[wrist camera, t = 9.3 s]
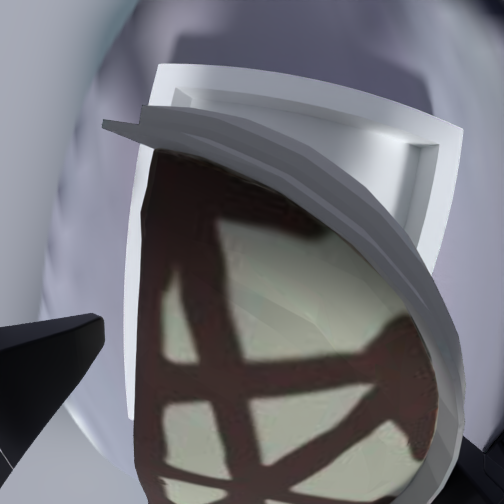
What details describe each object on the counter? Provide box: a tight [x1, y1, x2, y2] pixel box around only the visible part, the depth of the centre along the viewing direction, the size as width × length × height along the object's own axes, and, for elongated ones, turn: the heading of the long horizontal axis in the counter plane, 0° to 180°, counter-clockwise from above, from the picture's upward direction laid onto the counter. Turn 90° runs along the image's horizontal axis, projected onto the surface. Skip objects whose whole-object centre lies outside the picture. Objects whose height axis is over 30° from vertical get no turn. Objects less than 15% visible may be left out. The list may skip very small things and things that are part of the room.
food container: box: [102, 105, 466, 504], centre depth 8 cm, size 12×6×10 cm, turn 169°
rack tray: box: [124, 64, 464, 421], centre depth 13 cm, size 12×18×2 cm, turn 169°
